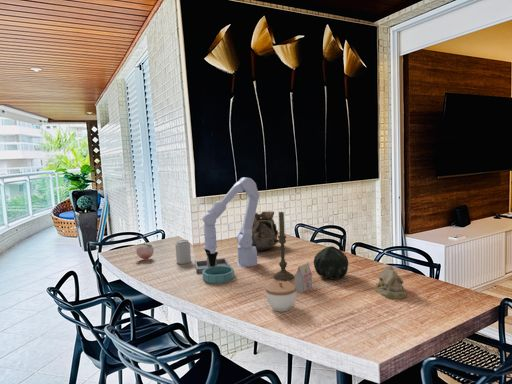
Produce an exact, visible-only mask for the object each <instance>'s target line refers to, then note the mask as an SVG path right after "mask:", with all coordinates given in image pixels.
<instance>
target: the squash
mask: <svg viewBox="0 0 512 384" xmlns="http://www.w3.org/2000/svg"><path fill="white" fill-rule="evenodd" d="M313 266H314V270H315V271H316V272H315V273H317V275H319V276H321V277H323V278H326V279H327V280H329V281H330V280H332V279H333V280H338V279H341V278H344V277H345V276H346V275H347V273H348V270H349V260H348V256H347V255H346V253H344V252H343V251H342V250H340V249H339V248H337V247H335V246H333V245H331V246H330V245H329V246H326V247H324V248H323V249H321V250H320V251H319V252H317V253H316V254H315V256H314V258H313Z"/></svg>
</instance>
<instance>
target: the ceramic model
mask: <svg viewBox="0 0 512 384" xmlns="http://www.w3.org/2000/svg"><path fill="white" fill-rule="evenodd" d="M377 278H378V283H376V284H375V292H376V293H378V294H379V295H381V296H383V297H385V298H387V299H390V300H391V299H392V300H393V299H395V300H396V299H397V300H398V299H403V298H405V297H407V292H406V290H405V288H404V280H403V278H402V277H401V276H400V275H399V274H398V273H397V272H396V270H394V267H393V266H391V265H390V266H385V268H384V269H383V270H382V271H380V273H379V274H378V276H377Z"/></svg>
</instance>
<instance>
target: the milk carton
mask: <svg viewBox="0 0 512 384" xmlns="http://www.w3.org/2000/svg"><path fill="white" fill-rule="evenodd" d="M294 285H295V286H296V292H297V293H301V294H304V293H306V292H307V291H309V290H311V289H313V273H312V270H311V268H310V265H309V263H308V262H307V263H305V264H303V265H300V266H298V267H297V270H296V273H295V275H294Z"/></svg>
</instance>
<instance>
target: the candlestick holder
mask: <svg viewBox="0 0 512 384" xmlns="http://www.w3.org/2000/svg"><path fill="white" fill-rule="evenodd" d="M278 225H279V229H278V230H279V231H278V232H279V235H277V239H278V240H279V242H278V243H279V244H280V246H279V247H280V248H279V250H280V257H281V260H280V262H279V263H278V265H279V267H280V270H279V271H278V272H276V273H275V274H273V279H274V280H277V281H283V280H284V281H290V280H292V279H295V275H294V274H293V273H291V272H290V271H287V270H286V268H287V264H288V262H286V260H285V251H286V247H285V244H287V243H286V242H287V240H286V239H287V235H285V213H284V212H283V211H282V210H281V211H279V212H278Z"/></svg>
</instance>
